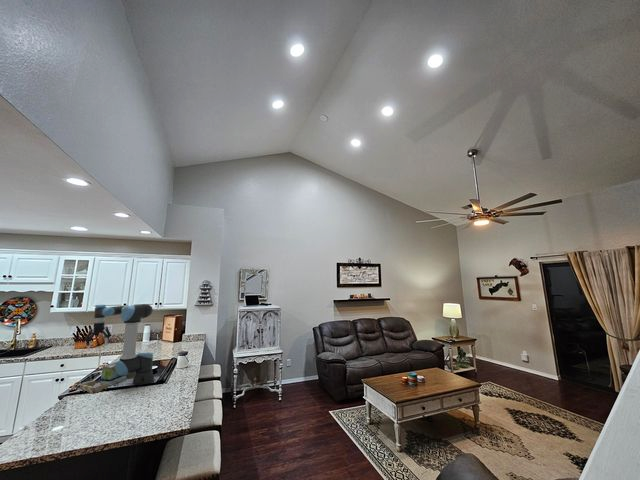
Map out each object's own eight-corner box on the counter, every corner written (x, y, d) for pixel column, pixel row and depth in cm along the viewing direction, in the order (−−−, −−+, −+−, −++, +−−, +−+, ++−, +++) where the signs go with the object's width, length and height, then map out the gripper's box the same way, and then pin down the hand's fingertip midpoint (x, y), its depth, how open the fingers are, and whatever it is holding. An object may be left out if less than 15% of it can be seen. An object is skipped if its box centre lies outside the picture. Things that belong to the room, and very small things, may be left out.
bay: (108, 388, 219) (108, 383, 219) (93, 393, 210) (93, 388, 210) (94, 385, 226) (94, 380, 226) (79, 390, 217) (80, 384, 217)
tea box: (110, 386, 224) (111, 367, 225) (100, 385, 226) (101, 366, 227) (126, 379, 238) (127, 361, 240) (116, 378, 240) (118, 360, 242)
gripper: (111, 320, 259) (110, 343, 256) (80, 324, 236) (78, 350, 233) (116, 320, 256) (115, 344, 253) (85, 325, 233) (83, 351, 230)
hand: (97, 347), depth 243 cm, fingers open, 13 cm apart
